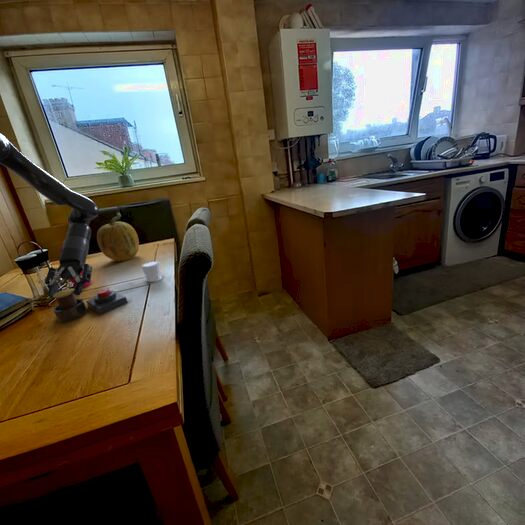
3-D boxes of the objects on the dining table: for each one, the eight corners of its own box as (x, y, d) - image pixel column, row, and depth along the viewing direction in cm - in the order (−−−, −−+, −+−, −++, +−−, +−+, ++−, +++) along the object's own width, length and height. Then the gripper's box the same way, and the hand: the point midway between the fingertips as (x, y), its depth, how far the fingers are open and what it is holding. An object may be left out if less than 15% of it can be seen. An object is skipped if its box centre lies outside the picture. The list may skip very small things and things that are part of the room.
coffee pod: (65, 320, 89) (56, 298, 86) (59, 315, 93) (50, 294, 90) (84, 312, 93) (76, 290, 90) (78, 307, 97) (70, 287, 94)
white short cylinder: (155, 275, 120) (151, 260, 117) (166, 277, 116) (162, 261, 114) (142, 281, 114) (137, 266, 112) (153, 283, 111) (148, 267, 108)
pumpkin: (140, 260, 142) (126, 212, 134) (100, 268, 138) (83, 219, 130) (145, 250, 159) (132, 207, 151) (109, 257, 156) (94, 213, 147)
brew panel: (101, 314, 91) (97, 304, 89) (88, 306, 98) (84, 296, 96) (127, 302, 97) (124, 292, 96) (114, 296, 104) (110, 286, 103)
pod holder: (62, 325, 87) (57, 314, 86) (54, 318, 93) (49, 307, 91) (90, 312, 93) (86, 302, 92) (81, 306, 98) (77, 296, 97)
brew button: (101, 298, 94) (99, 294, 93) (97, 296, 96) (95, 292, 95) (112, 294, 96) (110, 289, 96) (107, 292, 99) (106, 287, 98)
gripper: (47, 248, 94) (33, 294, 87) (87, 244, 93) (76, 290, 86) (63, 258, 101) (52, 301, 94) (101, 254, 100) (92, 297, 93)
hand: (64, 295), depth 90 cm, fingers open, 8 cm apart
